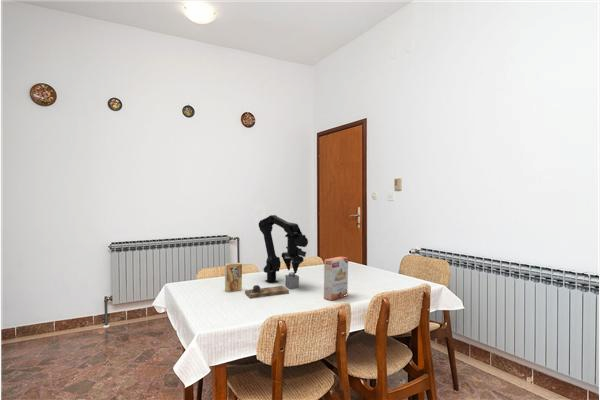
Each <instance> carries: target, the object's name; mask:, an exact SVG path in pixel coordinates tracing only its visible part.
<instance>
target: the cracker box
mask: <svg viewBox="0 0 600 400" xmlns="http://www.w3.org/2000/svg"><path fill="white" fill-rule="evenodd" d="M323 262H324V264H323V265H324V268H323V299H325V300H327V301H328V300H329V301H335V300H338V299H340V298H339V297H341V298H343V297H342V296H344V295H346V294H347V295H348V290H349V289H348V286H349V285H348V281H349V279H348V278H349V257H348V256H347V257H346V256H336V257H331V258H326V259H324V261H323ZM344 297H345V296H344ZM337 298H338V299H337Z"/></svg>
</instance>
